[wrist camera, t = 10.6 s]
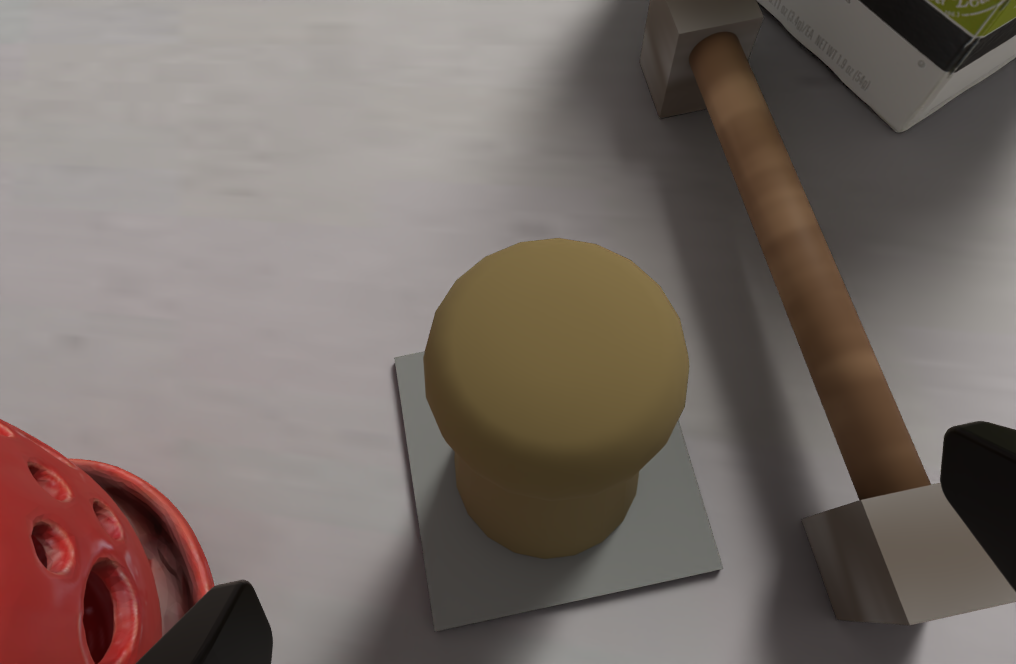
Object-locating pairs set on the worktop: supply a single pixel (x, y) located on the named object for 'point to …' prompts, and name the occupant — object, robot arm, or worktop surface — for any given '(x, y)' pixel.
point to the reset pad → (535, 581)
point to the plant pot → (88, 559)
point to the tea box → (904, 48)
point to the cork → (554, 390)
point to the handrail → (823, 342)
